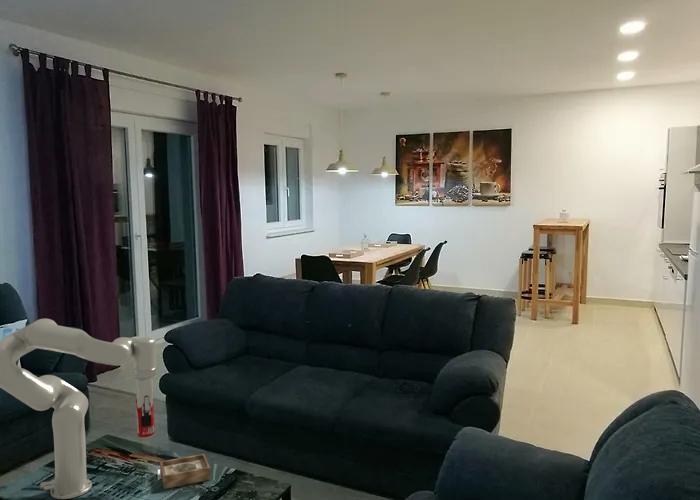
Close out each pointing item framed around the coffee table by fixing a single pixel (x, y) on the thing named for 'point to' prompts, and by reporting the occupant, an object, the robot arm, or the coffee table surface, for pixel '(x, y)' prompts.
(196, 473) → the wooden box
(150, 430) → the beverage can
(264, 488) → the coffee table surface
